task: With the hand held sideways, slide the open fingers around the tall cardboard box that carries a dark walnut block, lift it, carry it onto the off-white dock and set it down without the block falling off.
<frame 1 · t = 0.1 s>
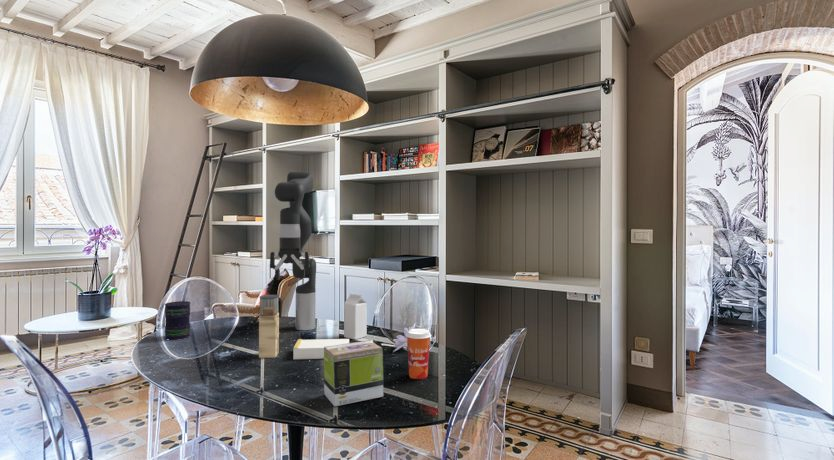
hand: (290, 279, 165), 29 cm above the table, tool pointing down, fingers open, 8 cm apart
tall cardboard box: (269, 355, 168), on the table, touching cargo
coffee cup: (418, 376, 146), on the table
water lily: (404, 349, 178), on the table
dock: (322, 353, 170), on the table
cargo: (269, 318, 168), point 14 cm above the table, touching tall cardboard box
tea box: (353, 397, 129), on the table
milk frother: (263, 325, 216), on the table
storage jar: (177, 337, 192), on the table
milk carton: (355, 337, 195), on the table
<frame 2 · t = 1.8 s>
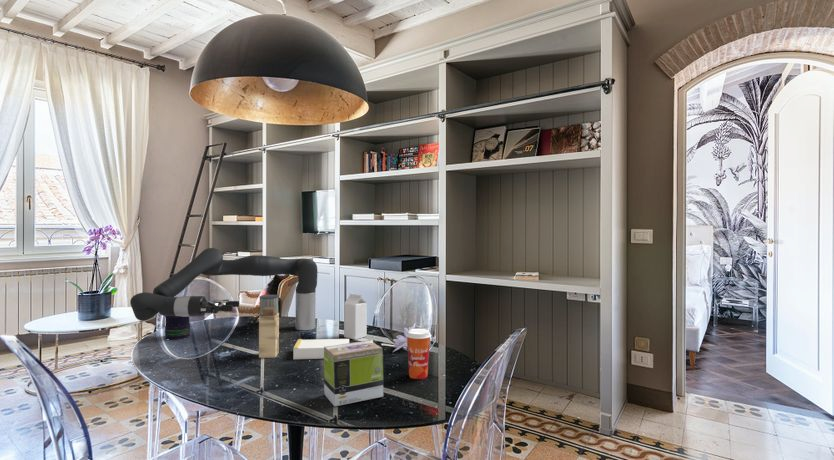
hand: (235, 306, 166), 19 cm above the table, tool horizontal, fingers open, 8 cm apart
nothing on the table moved.
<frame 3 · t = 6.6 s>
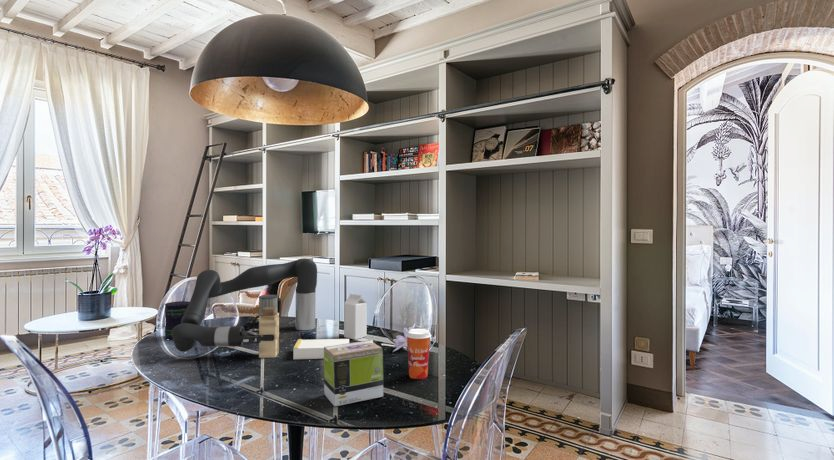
hand: (275, 335, 168), 8 cm above the table, tool horizontal, fingers closed on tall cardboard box, 6 cm apart
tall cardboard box: (269, 355, 168), on the table, touching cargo, gripper
everything else where it was.
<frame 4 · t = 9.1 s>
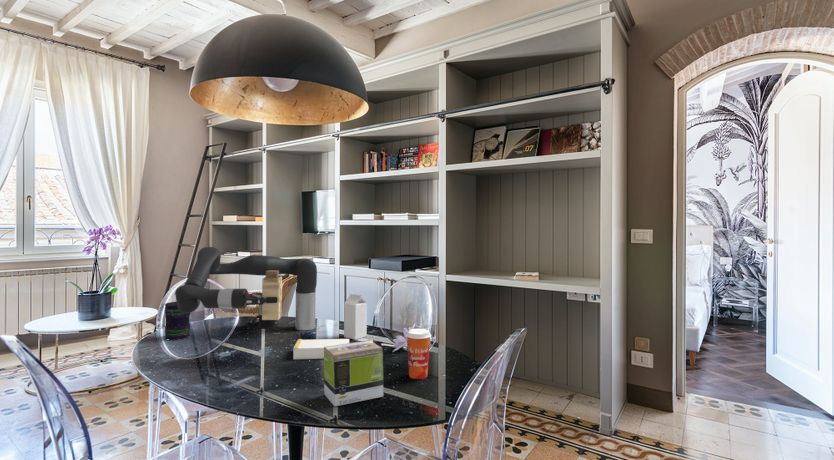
hand: (278, 298, 168), 22 cm above the table, tool horizontal, fingers closed on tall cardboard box, 6 cm apart
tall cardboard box: (272, 318, 168), point 14 cm above the table, touching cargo, gripper
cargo: (272, 281, 168), point 28 cm above the table, touching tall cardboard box
everything else where it was.
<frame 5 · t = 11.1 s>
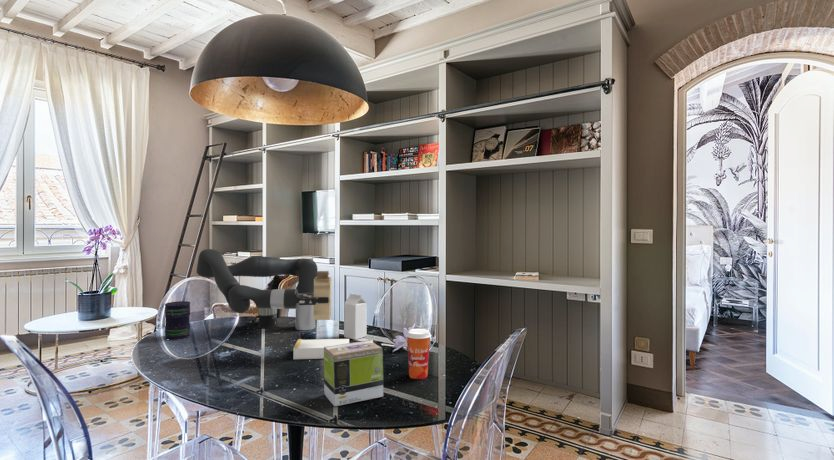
hand: (328, 298, 170), 21 cm above the table, tool horizontal, fingers closed on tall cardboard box, 6 cm apart
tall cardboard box: (322, 318, 170), point 14 cm above the table, touching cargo, gripper
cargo: (322, 281, 170), point 28 cm above the table, touching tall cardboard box
everything else where it was.
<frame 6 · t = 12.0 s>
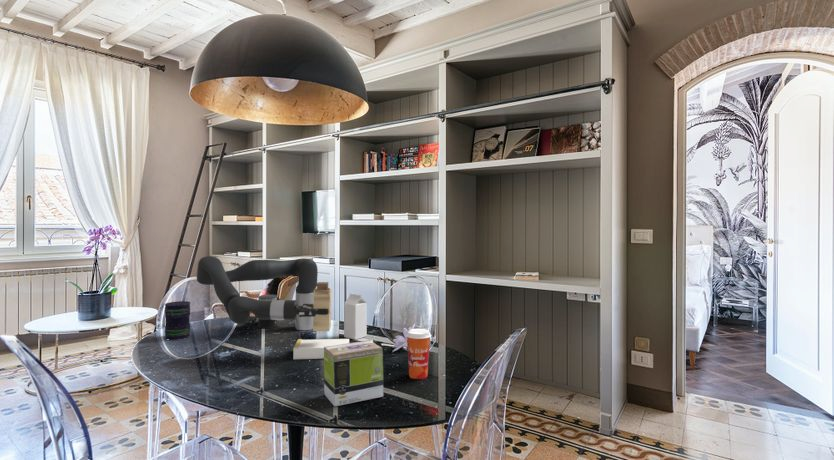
hand: (328, 309, 170), 17 cm above the table, tool horizontal, fingers closed on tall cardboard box, 6 cm apart
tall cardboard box: (322, 329, 170), point 9 cm above the table, touching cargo, gripper
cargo: (322, 293, 170), point 23 cm above the table, touching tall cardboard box
everything else where it was.
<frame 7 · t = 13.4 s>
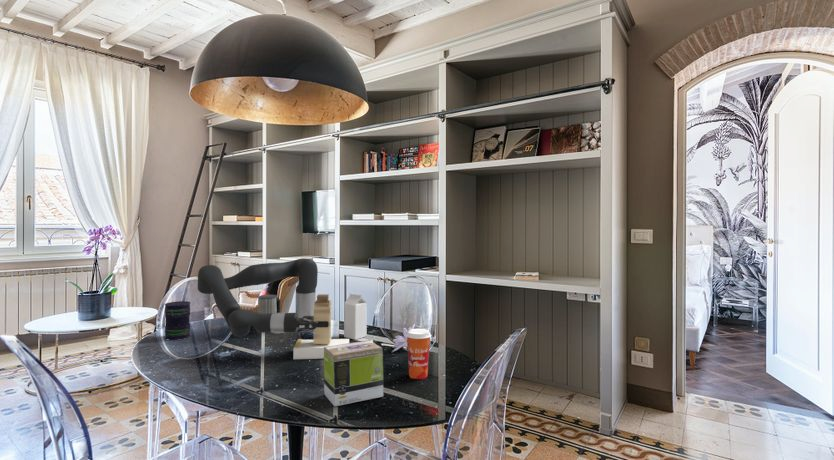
hand: (328, 322, 170), 12 cm above the table, tool horizontal, fingers closed on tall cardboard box, 6 cm apart
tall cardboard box: (322, 341, 170), point 5 cm above the table, touching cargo, gripper
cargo: (322, 305, 170), point 19 cm above the table, touching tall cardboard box
everything else where it was.
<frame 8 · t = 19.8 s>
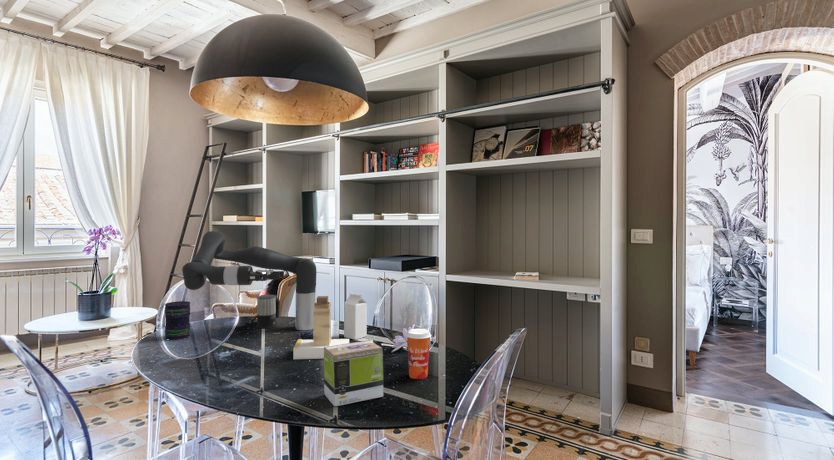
hand: (281, 275, 172), 30 cm above the table, tool horizontal, fingers open, 8 cm apart
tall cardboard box: (322, 343, 170), point 4 cm above the table, touching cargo, dock
at the end: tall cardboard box inside the target area on the dock (0.1 cm from its centre), point 4.0 cm above the dock's base; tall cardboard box tilted 0°; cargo 0.0 cm off-centre on the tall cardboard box, point 14.0 cm above the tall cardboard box's base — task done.
